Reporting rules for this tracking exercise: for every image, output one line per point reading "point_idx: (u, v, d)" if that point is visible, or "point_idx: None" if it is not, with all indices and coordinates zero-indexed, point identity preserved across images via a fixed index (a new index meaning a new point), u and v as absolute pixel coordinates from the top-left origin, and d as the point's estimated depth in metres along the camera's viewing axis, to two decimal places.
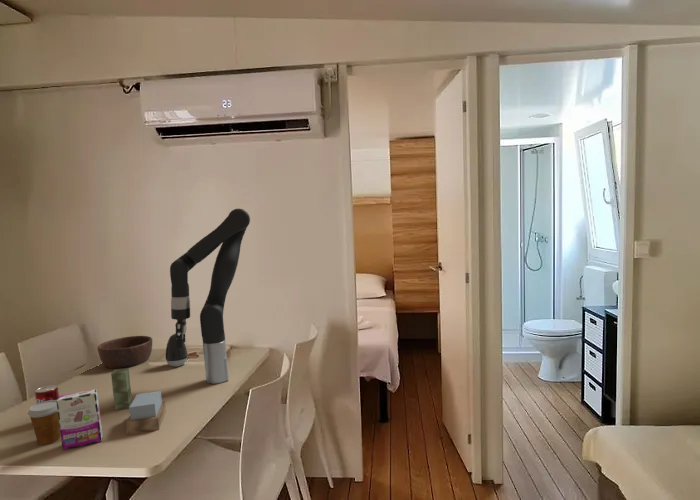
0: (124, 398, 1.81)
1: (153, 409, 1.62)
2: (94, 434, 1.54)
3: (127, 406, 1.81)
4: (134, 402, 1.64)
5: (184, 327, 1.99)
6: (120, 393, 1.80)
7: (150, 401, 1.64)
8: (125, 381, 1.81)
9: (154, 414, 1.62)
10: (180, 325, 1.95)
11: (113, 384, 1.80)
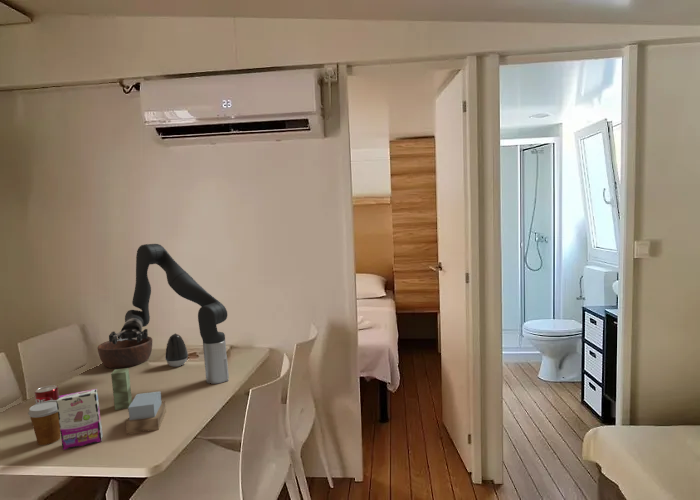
0: (124, 398, 1.81)
1: (152, 409, 1.62)
2: (94, 434, 1.54)
3: (127, 406, 1.81)
4: (134, 402, 1.64)
5: (121, 331, 1.98)
6: (120, 393, 1.80)
7: (149, 401, 1.64)
8: (125, 381, 1.81)
9: (153, 414, 1.62)
10: None
11: (113, 384, 1.80)
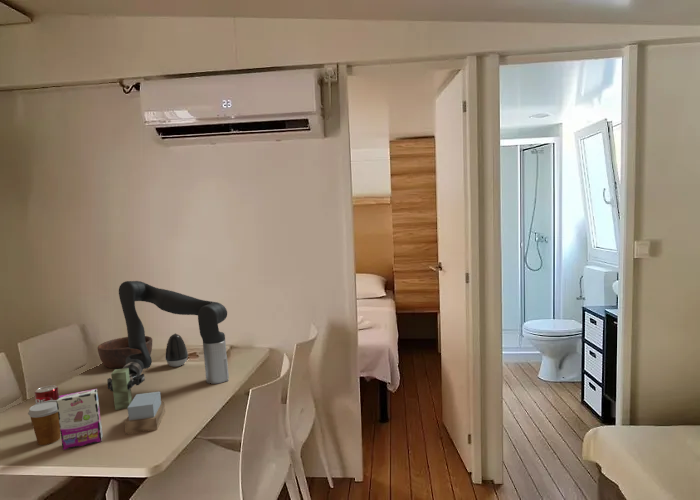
0: (125, 398, 1.81)
1: (151, 409, 1.61)
2: (94, 434, 1.54)
3: (127, 406, 1.81)
4: (133, 402, 1.64)
5: None
6: (120, 393, 1.80)
7: (148, 401, 1.64)
8: (125, 381, 1.81)
9: (152, 415, 1.62)
10: None
11: (113, 384, 1.80)
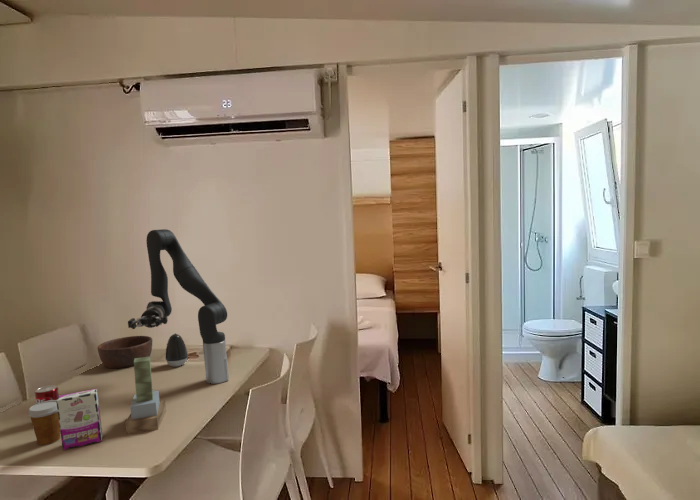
0: (148, 389, 1.65)
1: (154, 408, 1.63)
2: (94, 434, 1.54)
3: (150, 398, 1.65)
4: (134, 401, 1.65)
5: (141, 317, 1.92)
6: (143, 384, 1.64)
7: (150, 400, 1.65)
8: (149, 370, 1.65)
9: (155, 413, 1.63)
10: None
11: (136, 374, 1.63)
